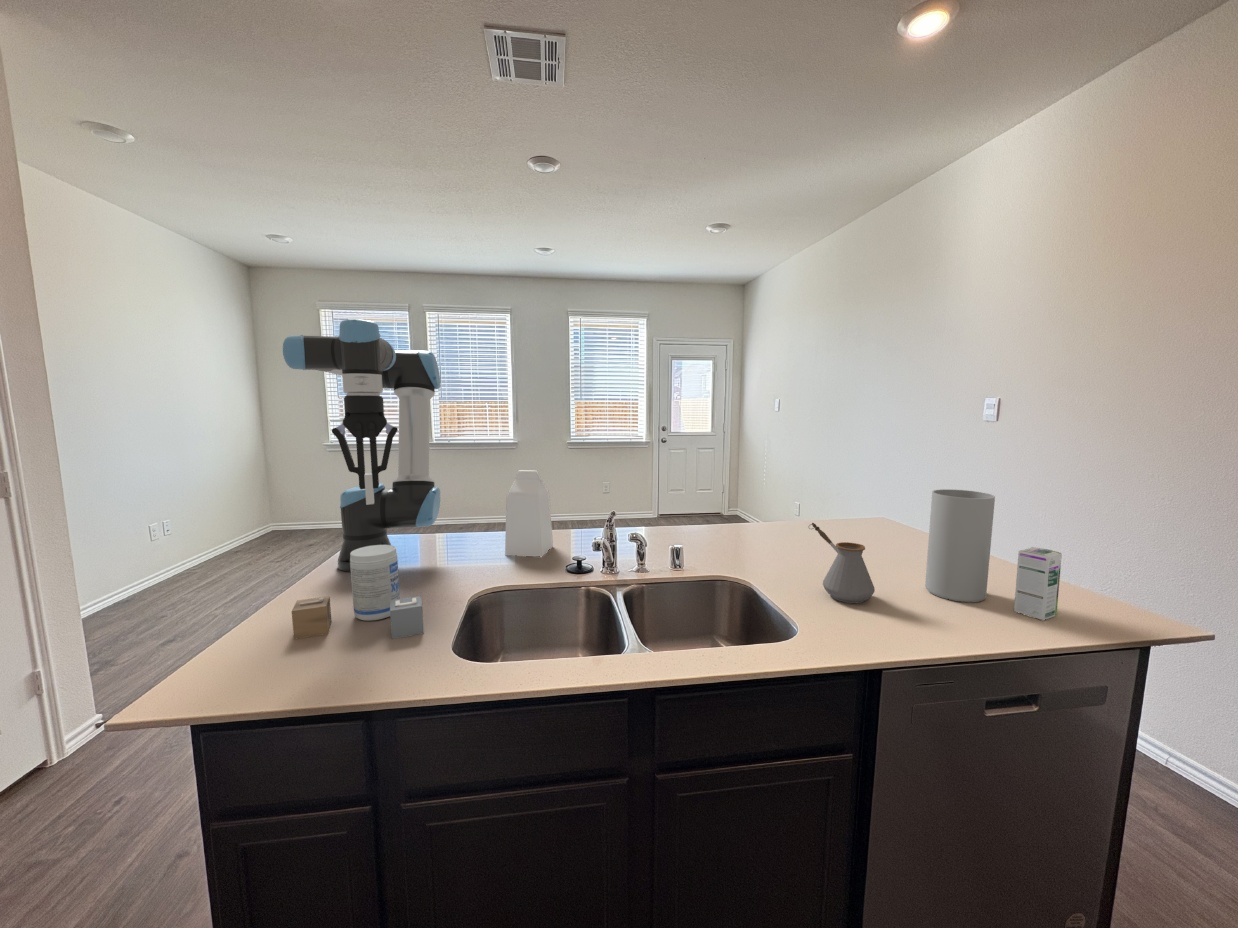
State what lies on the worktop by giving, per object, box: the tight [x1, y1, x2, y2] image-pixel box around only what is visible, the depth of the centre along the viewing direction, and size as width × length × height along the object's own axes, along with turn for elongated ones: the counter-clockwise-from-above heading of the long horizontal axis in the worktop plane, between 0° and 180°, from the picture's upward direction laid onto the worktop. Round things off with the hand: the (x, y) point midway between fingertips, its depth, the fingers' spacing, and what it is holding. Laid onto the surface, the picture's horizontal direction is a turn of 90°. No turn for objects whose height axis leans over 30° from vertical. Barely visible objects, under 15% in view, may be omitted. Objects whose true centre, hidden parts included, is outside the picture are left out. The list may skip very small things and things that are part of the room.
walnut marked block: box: [291, 595, 333, 640], centre depth 104 cm, size 6×6×6 cm
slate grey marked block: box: [389, 595, 425, 640], centre depth 104 cm, size 6×6×6 cm
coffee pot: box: [808, 522, 876, 604], centre depth 125 cm, size 21×12×15 cm, turn 13°
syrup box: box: [1013, 546, 1063, 621], centre depth 110 cm, size 6×6×14 cm
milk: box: [504, 469, 554, 557], centre depth 159 cm, size 12×12×26 cm
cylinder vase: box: [924, 488, 996, 603], centre depth 122 cm, size 12×12×25 cm
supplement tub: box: [350, 544, 401, 621], centre depth 112 cm, size 10×10×15 cm
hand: (370, 503), depth 110 cm, fingers closed
